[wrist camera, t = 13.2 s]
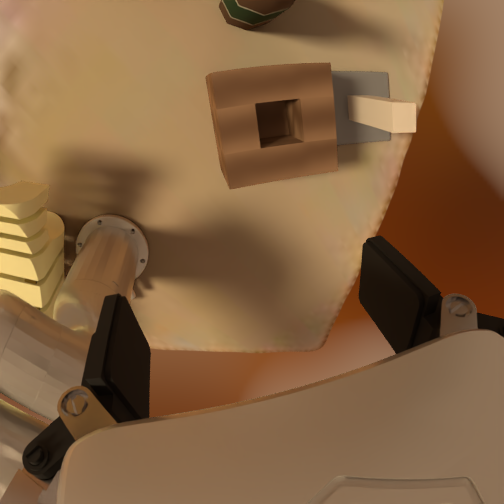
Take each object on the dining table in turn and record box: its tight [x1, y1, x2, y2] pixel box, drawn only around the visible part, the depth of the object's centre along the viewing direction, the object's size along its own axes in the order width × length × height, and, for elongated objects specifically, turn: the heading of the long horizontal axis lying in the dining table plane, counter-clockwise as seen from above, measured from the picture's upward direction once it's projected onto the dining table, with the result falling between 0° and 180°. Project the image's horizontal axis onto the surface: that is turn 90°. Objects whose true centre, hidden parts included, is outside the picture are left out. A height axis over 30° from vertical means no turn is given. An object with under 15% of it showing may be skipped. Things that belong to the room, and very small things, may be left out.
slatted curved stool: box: [0, 181, 65, 319], centre depth 36 cm, size 30×16×18 cm, turn 163°
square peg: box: [347, 95, 416, 133], centre depth 39 cm, size 4×4×12 cm
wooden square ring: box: [206, 63, 338, 189], centre depth 38 cm, size 14×14×10 cm
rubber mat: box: [331, 71, 390, 145], centre depth 44 cm, size 12×12×1 cm
